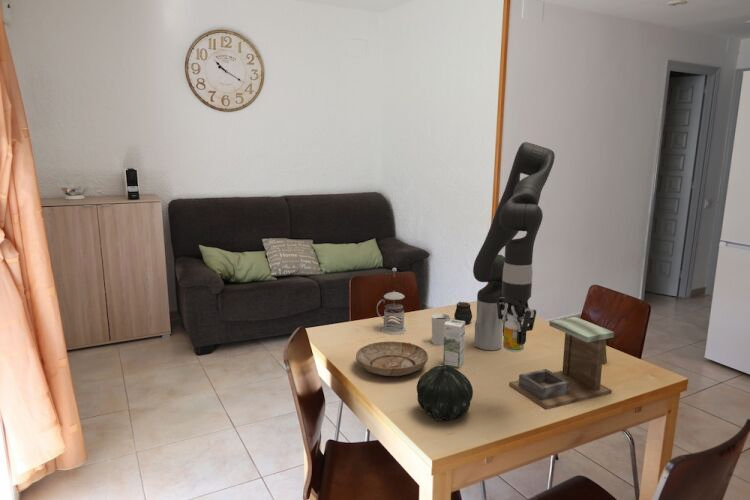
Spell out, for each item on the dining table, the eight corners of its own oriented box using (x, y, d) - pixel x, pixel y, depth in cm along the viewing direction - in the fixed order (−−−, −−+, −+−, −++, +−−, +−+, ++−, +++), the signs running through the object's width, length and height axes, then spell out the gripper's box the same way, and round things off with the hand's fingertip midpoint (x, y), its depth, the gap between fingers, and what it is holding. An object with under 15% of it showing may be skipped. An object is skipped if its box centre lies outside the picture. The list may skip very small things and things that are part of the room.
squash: (446, 374, 152) (425, 347, 143) (489, 393, 141) (470, 365, 132) (420, 416, 147) (397, 391, 137) (463, 439, 136) (440, 414, 127)
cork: (608, 365, 171) (611, 333, 169) (589, 363, 172) (591, 331, 170) (604, 357, 177) (607, 327, 175) (585, 356, 178) (588, 325, 176)
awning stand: (546, 409, 142) (550, 345, 139) (509, 385, 157) (512, 326, 153) (611, 393, 152) (617, 332, 148) (570, 371, 166) (575, 316, 163)
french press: (407, 334, 199) (407, 270, 195) (376, 334, 200) (376, 270, 195) (406, 326, 209) (406, 265, 204) (376, 325, 209) (376, 264, 204)
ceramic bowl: (442, 367, 170) (443, 353, 169) (392, 391, 154) (392, 375, 153) (391, 348, 186) (391, 335, 185) (341, 367, 170) (340, 353, 169)
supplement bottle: (500, 345, 144) (502, 311, 142) (519, 344, 144) (521, 310, 142) (506, 352, 139) (508, 317, 137) (526, 352, 139) (528, 317, 137)
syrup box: (464, 362, 174) (465, 320, 171) (459, 368, 169) (460, 325, 166) (447, 359, 176) (449, 318, 174) (442, 365, 171) (443, 323, 168)
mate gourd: (473, 321, 215) (474, 297, 213) (469, 326, 208) (470, 302, 206) (456, 318, 218) (457, 295, 216) (451, 324, 211) (452, 300, 209)
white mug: (451, 341, 193) (452, 315, 191) (445, 347, 187) (446, 320, 185) (434, 338, 196) (435, 312, 194) (428, 344, 190) (428, 317, 188)
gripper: (547, 284, 133) (542, 347, 136) (511, 271, 146) (508, 329, 149) (523, 287, 130) (519, 351, 133) (489, 274, 143) (486, 333, 146)
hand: (513, 339), depth 141 cm, fingers closed on supplement bottle, 5 cm apart
